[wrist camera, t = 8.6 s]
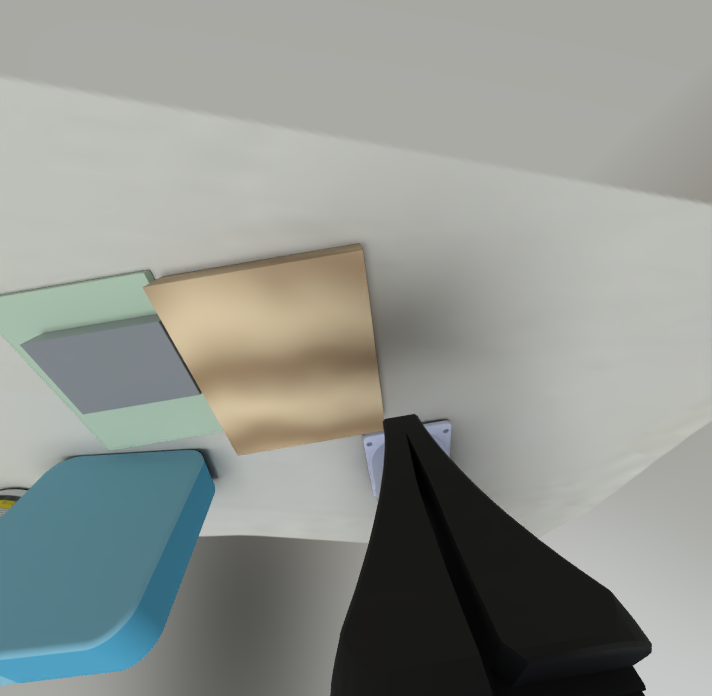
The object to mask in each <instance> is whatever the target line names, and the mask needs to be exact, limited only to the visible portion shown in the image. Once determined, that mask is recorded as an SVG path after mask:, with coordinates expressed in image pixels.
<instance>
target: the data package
mask: <svg viewBox="0 0 712 696" xmlns="http://www.w3.org/2000/svg"><path fill="white" fill-rule="evenodd" d="M214 493H215V485H214V483H213V480H212V478H211V476H210V473H209V471H208V468H207V466H206V463H205V461H204V458H203V456H202V454H201V453H200V452H198V451H196V450H176V451H159V452H142V453H125V454H108V455H91V456H78V457H74V458H70V459H68V460H65V461H63V462H61V463H59V464H57V465H56V466H54V467H52V468H51V469H50V470H48V471H47V472H46V473H45V474H44V475H43V476H42V477H41V478H40V479H39V480H38V481H37V482H36V483H35V484H34V485H33V486H32V487H31V488H30V489H29V490H28V491H27V492H26V493H25V494H24V495H23V496H22V497H21V498H20V499H19V500H18V501H17V502H16V503H15V504H14V505H13V506H12V507H11V508H10V509H9V510H8V511H7V512H6V513H5V514H4V515H3V516H2V517H1V518H0V685H9V684H16V683H25V682H33V681H41V680H50V679H58V678H66V677H74V676H83V675H91V674H100V673H108V672H115V671H122V670H125V669H127V668H129V667H131V666H133V665H134V664H136V663H137V662H138V661H140V660H141V659H142V658H143V657H144V656H146V655H147V653H148V652H149V651H150V650H151V649H152V648H153V646H154V645H155V644H156V642H157V641H158V639H159V637H160V635H161V634H162V632H163V629H164V627H165V624H166V621H167V619H168V616H169V613H170V610H171V608H172V605H173V603H174V600H175V597H176V595H177V592H178V589H179V587H180V584H181V581H182V579H183V576H184V573H185V571H186V568H187V565H188V563H189V560H190V557H191V555H192V552H193V549H194V547H195V544H196V541H197V539H198V536H199V533H200V531H201V528H202V525H203V523H204V520H205V517H206V515H207V512H208V509H209V507H210V504H211V501H212V499H213V496H214Z"/></svg>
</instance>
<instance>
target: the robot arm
mask: <svg viewBox="0 0 712 696" xmlns="http://www.w3.org/2000/svg"><path fill="white" fill-rule="evenodd" d="M383 429H384V431H381V432H375V433H369V434H365V435H364V436H363V443H364V448H365V453H366V459H367V464H368V469H369V474H370V479H371V485H372V490H373V495H374V497H377V500H378V505H377V510H376V515H375V520H374V524H373V528H372V532H371V536H370V541H369V544H368V548H367V552H366V555H365V559H364V562H363V566H362V569H361V572H360V575H359V579H358V582H357V586H356V589H355V592H354V595H353V598H352V601H351V603H350V606H349V609H348V612H347V615H346V618H345V621H344V624H343V626H342V630H341V633H340V639H339V644H338V648H337V653H336V658H335V663H334V669H333V675H332V682H331V695H330V696H645V695H644V694H643V692H642V691H644V690H646V688H645V685H644V683H643V682H642V680H641V678H640V677H639V675H638V674H637V672H636V670H635V669H634V667H633V665H634V664H636V663H638V662H639V661H641V660H642V659H644V658H645V657H647V656H648V655H649V654H650V653H651V650H652V648H651V647H652V644H651V642H650V641H649V639H648V638H647V637H646V635H645V634H644V632H643V631H642V630H641V628H640V627H639V625H638V624H637V623H636V621H635V620H634V619H633V618H632V616H631V615H630V614H629V613H628V611H627V610H626V609H625V608H624V607H623V605H622V604H621V603H620V602H619V601H618V599H617V598H616V597H615V596H614V594H613V593H612V592H611V591H610V590H609V589H607V588H606V587H604V586H603V585H601V584H600V583H598V582H597V581H596V580H594V579H592V578H591V577H590V576H588V575H587V574H585V573H584V572H583V571H581V570H579V569H578V568H577V567H576V566H574V565H573V564H571V563H570V562H568V561H567V560H566V559H564V558H563V557H561V556H560V555H558V553H556V552H555V551H554V550H552V549H551V548H550V547H548V546H547V545H546V544H544V543H543V542H541V541H540V540H539V539H538V538H537V537H535V536H534V535H533V534H532V533H530V532H529V531H528V530H527V529H525V528H524V527H523V526H522V525H520V524H519V523H518V522H517V521H515V520H514V519H513V518H512V517H511V516H509V515H508V514H507V513H506V512H505V511H504V510H502V509H501V508H500V507H499V506H498V505H497V504H496V503H494V502H493V501H492V500H491V499H490V498H489V497H488V496H487V495H486V494H485V493H484V492H482V491H481V490H480V489H479V488H478V487H477V486H476V485H475V484H474V483H473V482H472V481H471V480H470V479H469V478H468V477H467V476H466V475H465V474H464V473H463V472H462V471H461V470H460V469H459V467H458V466H457V465H456V464H455V463H454V462H453V461H452V460H451V459H450V442H451V424H450V422H449V421H439V422H433V423H427V424H422V422H421V421H420V419H419V418H418V416H417V415H415V414H412V415H406V416H400V417H394V418H388V419H385V420H384V421H383ZM445 429H446V430H445ZM369 442H370V443H369Z"/></svg>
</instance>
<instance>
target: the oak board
mask: <svg viewBox="0 0 712 696" xmlns="http://www.w3.org/2000/svg"><path fill="white" fill-rule="evenodd" d="M142 288H143V289H144V291H145V293H146V295H147V296H148V298H149V300H150V302H151V303H152V305H153V307H154V309H155V311H156V312H157V314H158V316H159V318H160V319H161V321H162V323H163V325H164V326H165V328H166V330H167V332H168V333H169V335H170V337H171V339H172V340H173V342H174V344H175V346H176V348H177V349H178V351H179V353H180V355H181V356H182V358H183V360H184V362H185V363H186V365H187V367H188V369H189V370H190V372H191V374H192V376H193V378H194V379H195V381H196V383H197V385H198V386H199V388H200V390H201V392H202V393H203V395H204V397H205V399H206V400H207V402H208V404H209V406H210V407H211V409H212V411H213V413H214V415H215V416H216V418H217V420H218V422H219V423H220V425H221V427H222V429H223V430H224V432H225V434H226V436H227V437H228V439H229V441H230V443H231V444H232V446H233V448H234V450H235V452H236V453H237V455H244V454H250V453H256V452H262V451H268V450H274V449H280V448H285V447H291V446H297V445H303V444H309V443H315V442H321V441H327V440H332V439H338V438H344V437H350V436H356V435H362V434H368V433H374V432H379V431H384V429H383V421H384V413H383V405H382V397H381V389H380V381H379V373H378V365H377V357H376V349H375V341H374V333H373V325H372V317H371V309H370V301H369V293H368V286H367V278H366V270H365V262H364V254H363V249H362V247H361V245H360V244H353V245H348V246H342V247H336V248H330V249H324V250H318V251H312V252H306V253H300V254H294V255H288V256H282V257H277V258H271V259H265V260H259V261H253V262H247V263H241V264H235V265H229V266H223V267H217V268H211V269H206V270H200V271H194V272H188V273H182V274H176V275H170V276H164V277H161V278H159V279H157V280H155V281H153V282H151V283H149V284H148V285H146V286H144V287H142Z"/></svg>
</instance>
